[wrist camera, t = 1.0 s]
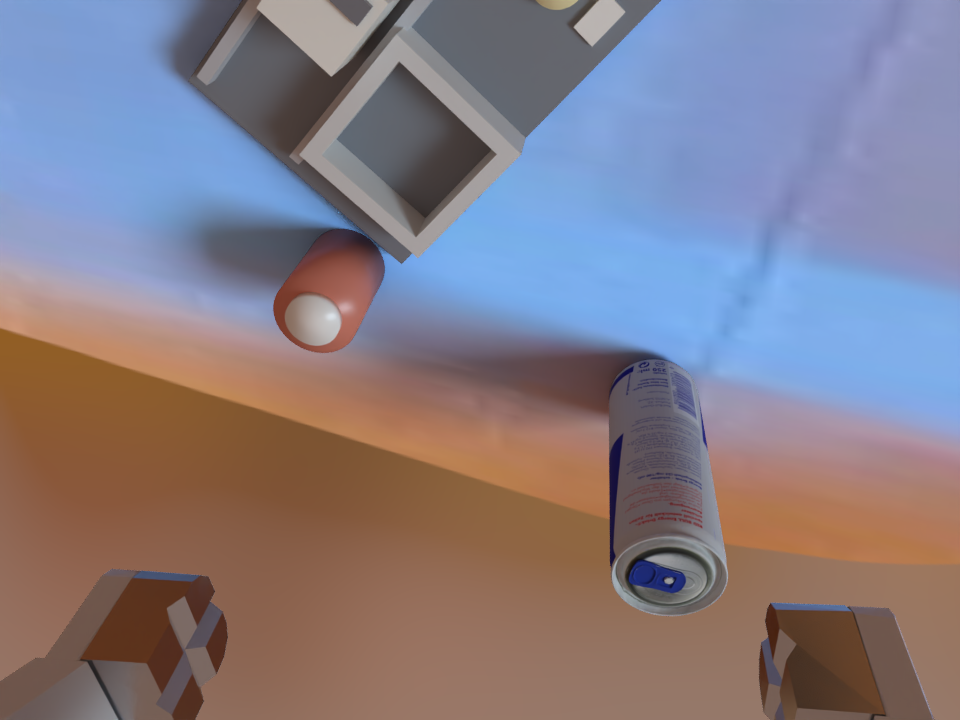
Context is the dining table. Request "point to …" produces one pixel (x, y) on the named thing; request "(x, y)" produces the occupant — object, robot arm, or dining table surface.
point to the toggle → (328, 26)
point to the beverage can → (662, 494)
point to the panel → (412, 101)
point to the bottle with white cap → (330, 291)
